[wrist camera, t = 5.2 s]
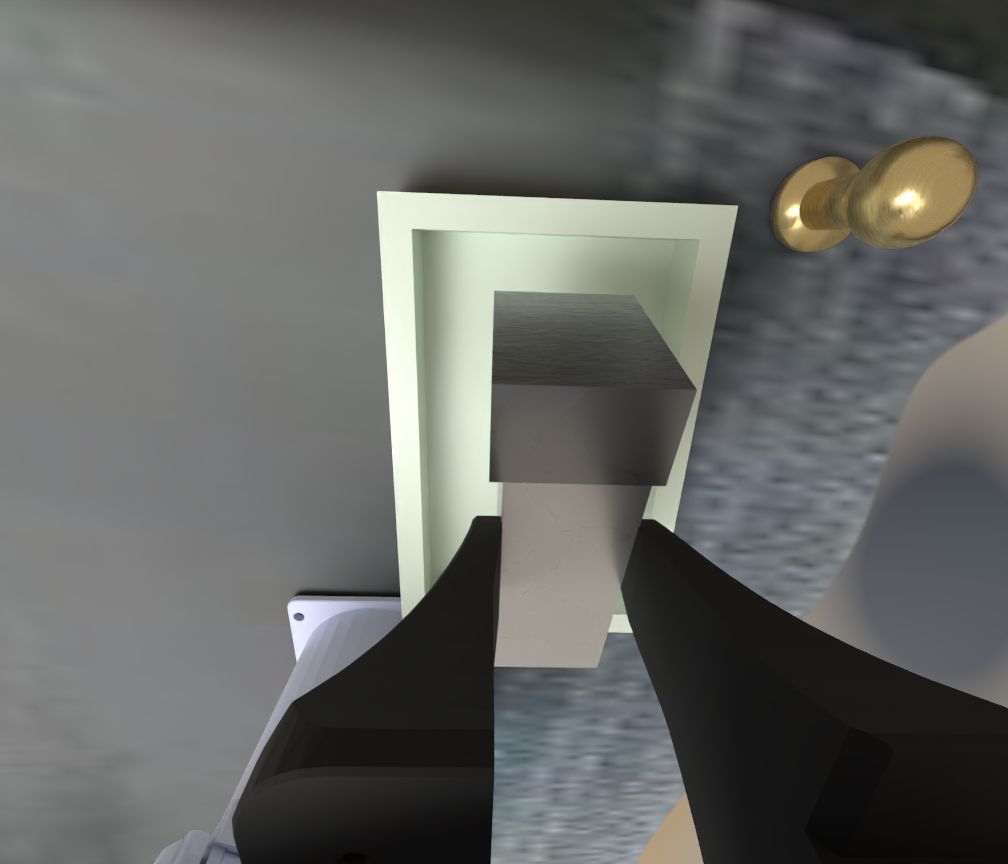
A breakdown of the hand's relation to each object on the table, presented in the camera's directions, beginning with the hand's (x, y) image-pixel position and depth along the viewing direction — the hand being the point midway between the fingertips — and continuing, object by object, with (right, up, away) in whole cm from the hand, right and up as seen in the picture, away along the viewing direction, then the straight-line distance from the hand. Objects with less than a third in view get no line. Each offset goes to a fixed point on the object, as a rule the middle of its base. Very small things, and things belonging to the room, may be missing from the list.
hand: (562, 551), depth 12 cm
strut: (0, +3, +4) cm, 5 cm away
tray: (0, +3, +8) cm, 9 cm away
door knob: (+10, +11, +5) cm, 16 cm away
